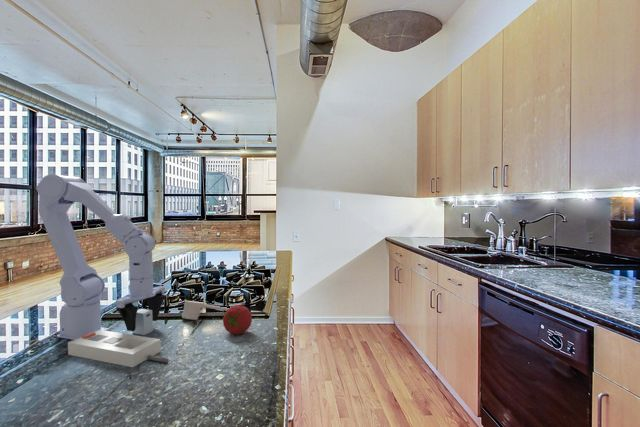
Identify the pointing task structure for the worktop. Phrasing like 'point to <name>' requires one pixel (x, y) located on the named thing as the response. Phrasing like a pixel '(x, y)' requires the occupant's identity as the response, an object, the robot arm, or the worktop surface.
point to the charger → (143, 322)
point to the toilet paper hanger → (197, 309)
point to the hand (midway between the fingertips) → (142, 325)
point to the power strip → (116, 348)
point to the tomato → (237, 319)
